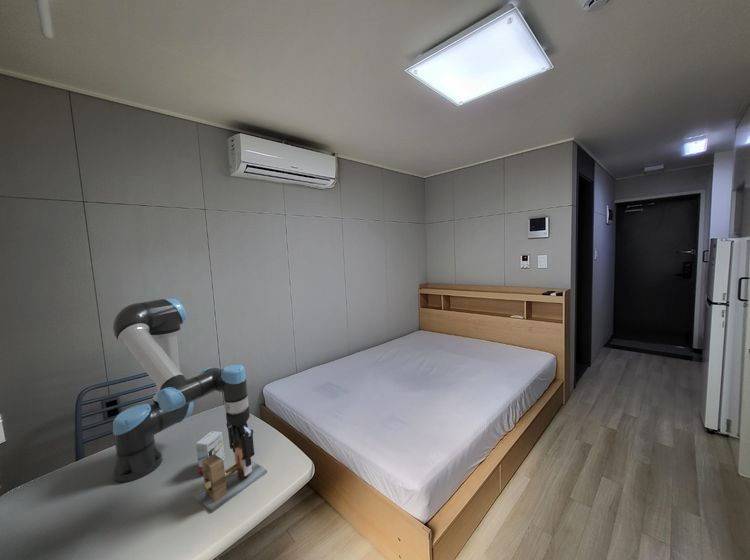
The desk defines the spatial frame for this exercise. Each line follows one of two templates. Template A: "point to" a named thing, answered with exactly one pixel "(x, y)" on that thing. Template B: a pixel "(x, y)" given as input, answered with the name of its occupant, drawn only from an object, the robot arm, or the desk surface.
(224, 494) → the eye post
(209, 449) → the ink box
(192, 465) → the desk surface
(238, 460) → the copper-capped brass rod
